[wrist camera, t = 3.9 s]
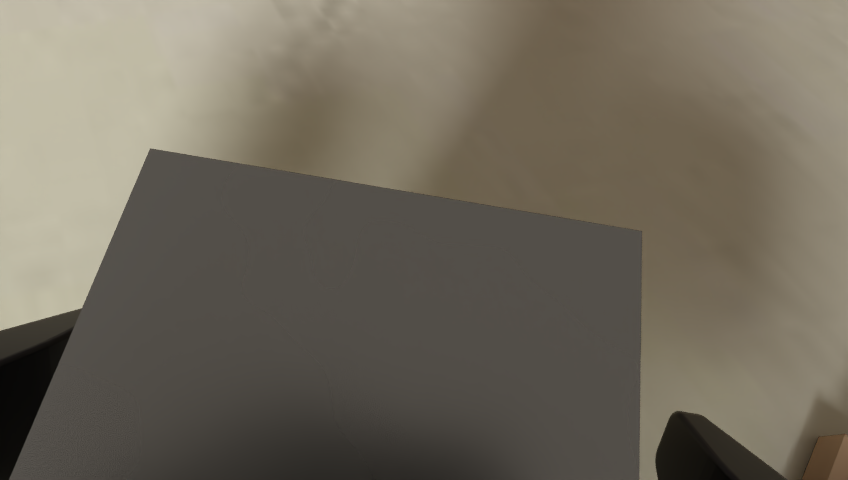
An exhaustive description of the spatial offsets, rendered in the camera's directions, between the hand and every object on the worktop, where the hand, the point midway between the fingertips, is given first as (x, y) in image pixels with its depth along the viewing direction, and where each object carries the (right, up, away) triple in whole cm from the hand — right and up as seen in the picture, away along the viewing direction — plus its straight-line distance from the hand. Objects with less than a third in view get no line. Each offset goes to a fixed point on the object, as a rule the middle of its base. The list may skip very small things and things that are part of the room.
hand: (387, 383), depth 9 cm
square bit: (0, -4, +6) cm, 7 cm away
